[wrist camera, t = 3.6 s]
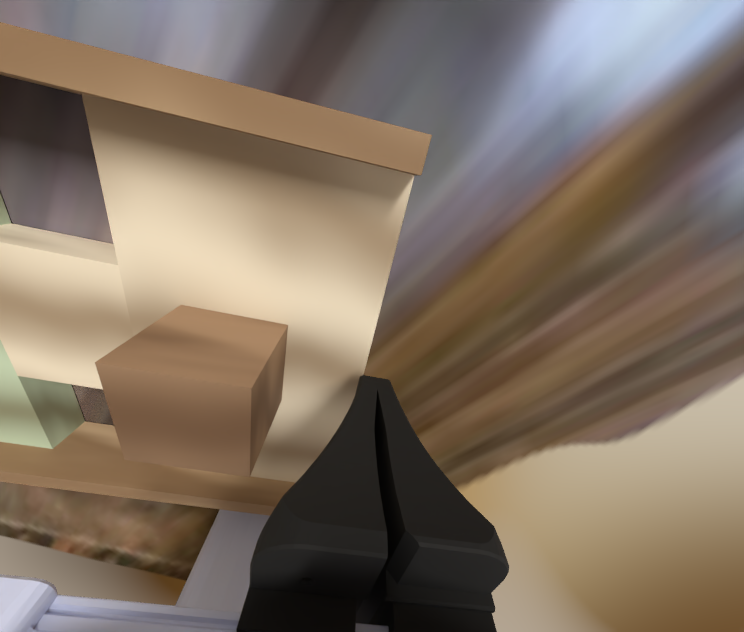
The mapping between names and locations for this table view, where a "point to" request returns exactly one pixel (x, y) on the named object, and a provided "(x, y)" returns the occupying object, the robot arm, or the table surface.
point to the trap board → (196, 262)
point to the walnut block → (196, 390)
